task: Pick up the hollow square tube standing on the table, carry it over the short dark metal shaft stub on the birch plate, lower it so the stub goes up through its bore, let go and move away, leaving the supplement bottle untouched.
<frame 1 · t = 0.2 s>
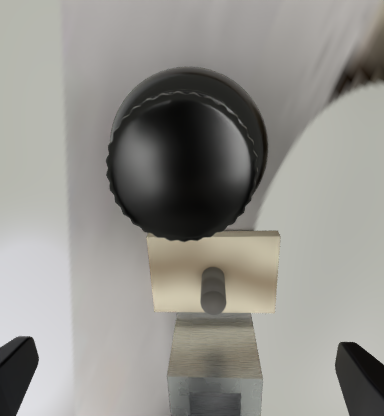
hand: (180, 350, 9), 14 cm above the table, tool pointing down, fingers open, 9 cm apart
supplement bottle: (196, 132, 20), on the table
hollow square tube: (214, 340, 27), on the table
shaft plate: (213, 269, 24), on the table
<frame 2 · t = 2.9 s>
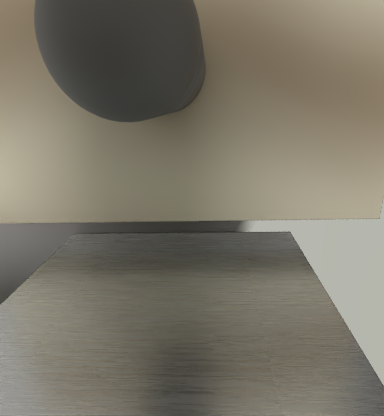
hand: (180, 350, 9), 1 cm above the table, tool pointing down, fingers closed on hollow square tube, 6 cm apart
hollow square tube: (184, 320, 10), on the table, touching gripper
shaft plate: (169, 73, 7), on the table
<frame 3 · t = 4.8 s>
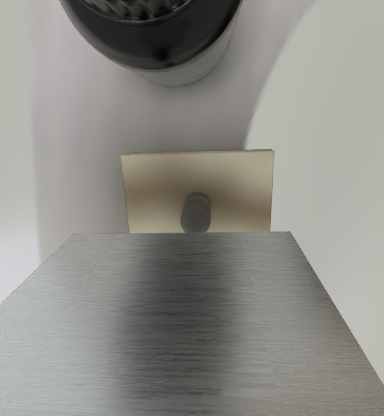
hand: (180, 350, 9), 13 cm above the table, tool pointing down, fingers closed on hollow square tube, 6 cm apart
supplement bottle: (176, 26, 18), on the table
hollow square tube: (184, 320, 10), point 12 cm above the table, touching gripper
shaft plate: (198, 200, 21), on the table
when the fingers open (4 cm above the table, at t = 7.2 s): hollow square tube drops 1 cm, resting on shaft plate.
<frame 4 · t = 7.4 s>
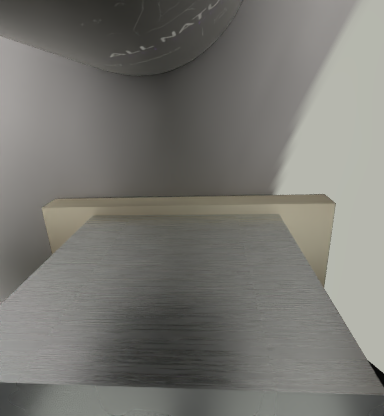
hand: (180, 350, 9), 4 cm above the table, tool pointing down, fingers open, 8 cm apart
hollow square tube: (187, 293, 11), point 1 cm above the table, touching shaft plate
shaft plate: (189, 277, 12), on the table
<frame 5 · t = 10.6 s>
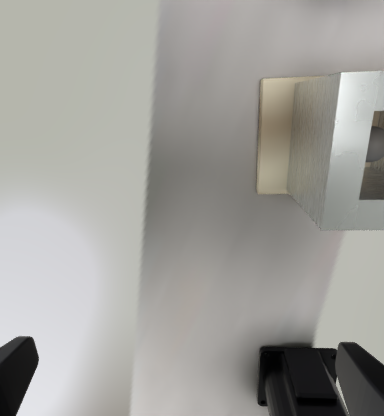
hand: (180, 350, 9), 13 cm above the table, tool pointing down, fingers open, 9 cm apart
hollow square tube: (344, 138, 18), point 1 cm above the table, touching shaft plate
shaft plate: (337, 136, 19), on the table
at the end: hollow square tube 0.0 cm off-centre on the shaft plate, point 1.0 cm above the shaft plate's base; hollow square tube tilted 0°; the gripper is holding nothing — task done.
